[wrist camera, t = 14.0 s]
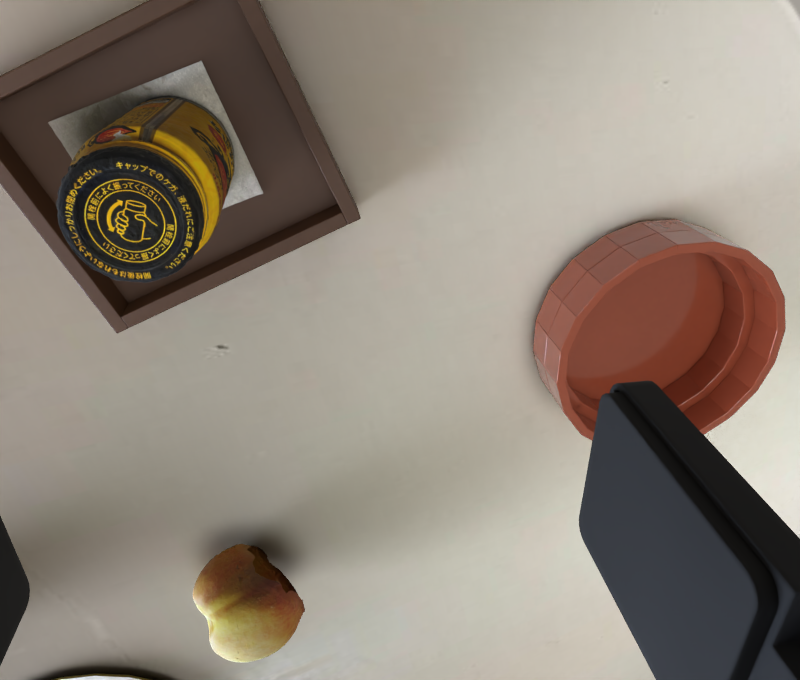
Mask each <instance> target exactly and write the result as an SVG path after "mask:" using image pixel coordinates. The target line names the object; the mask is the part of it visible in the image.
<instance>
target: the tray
mask: <svg viewBox="0 0 800 680" xmlns="http://www.w3.org/2000/svg"><path fill="white" fill-rule="evenodd" d="M200 61H202V63H203V65H204V67H205V69H206V72H207V74H208V76H209V78H210V80H211V82H212V84H213V87H214V89H215V91H216V93H217V95H218V97H219V99H220V101H221V103H222V105H223V107H224V109H225V112H226V114H227V116H228V118H229V120H230V122H231V124H232V126H233V129H234V131H235V133H236V135H237V137H238V139H239V141H240V143H241V146H242V148H243V150H244V152H245V154H246V156H247V159H248V161H249V163H250V165H251V167H252V169H253V171H254V174H255V176H256V178H257V180H258V182H259V185H260V187H261V189H262V191H263V194H260V195H257V196H254V197H251V198H249V199H246V200H244V201H242V202H239V203H236V204H234V205H231V206H229V207H226V208H224V209H222V210H221V213H220V217H219V222H218V224H217V226H216V227H215V229H214V232H213V234H212V236H211V237H210V239H209V240H208V241H207V243H206V244H205V245H204V246H203V247H202V248H201V249H200V250H199V251H198V252H197V253H195V254H194V256H193V258H192V259H191V260H189V261H188V262H187V263H186V265H185V266H184V267H183V268H182V269H180V270H179V271H178V272H176V273H174V274H172V275H169V276H168V277H165V278H161V279H159V280H156V281H152V282H147V283H142V282H130V281H117V280H114V279H112V278H110V277H108V276H106V275H104V274H102V273H100V272H98V271H96V270H93V269H92V268H90V267H89V266H88V265H86V264H85V262H84V261H82V260H81V259H80V258H79V257H78V256H77V255H76V254H75V253H74V251H73V250H72V249H71V247H70V245H69V244H68V242H67V241H66V239H65V237H64V235H63V233H62V231H61V229H60V227H59V223H58V217H57V215H58V210H57V208H56V201H57V199H58V189H59V187H60V186H61V184H62V183H61V180H62V178H63V177H64V176H65V175H66V174H67V173H68V167H69V166H70V164H71V162H72V158H71V157H70V155H69V154H68V152H67V151H66V149H65V147H64V146H63V144H62V142H61V141H60V140H59V138H58V137H57V136H56V134H55V132H54V131H53V129H52V128H51V126H50V125H49V123H48V122H50V121H52V120H55V119H57V118H60V117H62V116H65V115H68V114H70V113H72V112H75V111H77V110H80V109H82V108H84V107H87V106H90V105H92V104H95V103H97V102H100V101H102V100H105V99H108V98H110V97H112V96H115V95H117V94H120V93H122V92H125V91H127V90H130V89H132V88H135V87H137V86H140V85H142V84H145V83H147V82H150V81H152V80H155V79H157V78H160V77H162V76H165V75H167V74H170V73H172V72H175V71H177V70H180V69H182V68H185V67H187V66H190V65H192V64H195V63H197V62H200ZM0 184H1V185H2V187H3V188H4V189H5V191H6V192H7V193H8V194H9V196H10V197H11V198H12V200H13V201H14V202H15V203H16V205H17V206H18V207H19V209H20V210H21V211H22V212H23V214H24V215H25V216H26V218H27V219H28V220H29V221H30V223H31V224H32V225H33V227H34V228H35V229H36V230H37V232H38V233H39V234H40V235H41V237H42V238H43V239H44V241H45V242H46V243H47V244H48V246H49V247H50V248H51V250H52V251H53V252H54V253H55V255H56V256H57V257H58V259H59V260H60V261H61V262H62V264H63V265H64V266H65V268H66V269H67V270H68V271H69V273H70V274H71V275H72V277H73V278H74V279H75V280H76V282H77V283H78V284H79V286H80V287H81V288H82V289H83V291H84V292H85V293H86V295H87V296H88V297H89V298H90V300H91V301H92V302H93V304H94V305H95V306H96V307H97V309H98V310H99V311H100V313H101V314H102V315H103V316H104V318H105V319H106V320H107V322H108V323H109V324H110V325H111V327H112V328H113V329H114V331H115V332H116V333H119V332H121V331H123V330H126V329H128V328H129V327H132V326H134V325H136V324H138V323H140V322H142V321H145V320H147V319H149V318H151V317H153V316H155V315H157V314H159V313H161V312H164V311H166V310H168V309H170V308H172V307H174V306H176V305H178V304H181V303H183V302H185V301H187V300H189V299H191V298H193V297H195V296H198V295H200V294H202V293H204V292H206V291H208V290H210V289H212V288H214V287H217V286H219V285H221V284H223V283H225V282H227V281H229V280H231V279H234V278H236V277H238V276H240V275H242V274H244V273H246V272H248V271H251V270H253V269H255V268H257V267H259V266H261V265H263V264H265V263H267V262H270V261H272V260H274V259H276V258H278V257H280V256H282V255H284V254H287V253H289V252H291V251H293V250H295V249H297V248H299V247H301V246H303V245H306V244H308V243H310V242H312V241H314V240H316V239H318V238H320V237H323V236H325V235H327V234H329V233H331V232H333V231H335V230H337V229H340V228H342V227H344V226H346V225H347V224H350V223H352V222H355V221H357V220H359V219H360V215H359V212H358V208H357V206H356V203H355V201H354V199H353V197H352V195H351V193H350V191H349V189H348V187H347V185H346V183H345V180H344V178H343V176H342V174H341V172H340V170H339V168H338V166H337V164H336V162H335V160H334V157H333V155H332V153H331V151H330V149H329V147H328V145H327V143H326V141H325V139H324V137H323V134H322V132H321V130H320V128H319V126H318V124H317V122H316V120H315V118H314V116H313V114H312V111H311V109H310V107H309V105H308V103H307V101H306V99H305V97H304V95H303V93H302V91H301V89H300V86H299V84H298V82H297V80H296V78H295V76H294V74H293V72H292V70H291V68H290V66H289V63H288V61H287V59H286V57H285V55H284V53H283V51H282V49H281V47H280V45H279V43H278V40H277V38H276V36H275V34H274V32H273V30H272V28H271V26H270V24H269V22H268V20H267V17H266V15H265V13H264V11H263V9H262V7H261V5H260V3H259V1H258V0H149V1H147V2H145V3H143V4H141V5H139V6H137V7H135V8H133V9H131V10H129V11H127V12H125V13H123V14H121V15H119V16H117V17H115V18H113V19H111V20H109V21H107V22H106V23H104V24H102V25H100V26H98V27H96V28H94V29H92V30H90V31H88V32H86V33H84V34H82V35H80V36H78V37H76V38H74V39H72V40H70V41H68V42H66V43H64V44H62V45H60V46H58V47H56V48H54V49H52V50H50V51H48V52H47V53H45V54H43V55H41V56H39V57H37V58H35V59H33V60H31V61H29V62H27V63H25V64H23V65H21V66H19V67H17V68H15V69H13V70H11V71H9V72H7V73H5V74H3V75H1V76H0Z"/></svg>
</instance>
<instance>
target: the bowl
mask: <svg viewBox="0 0 800 680" xmlns="http://www.w3.org/2000/svg"><path fill="white" fill-rule="evenodd" d="M784 298H785V297H784V295H783V293H782V291H781V288H780V286H779V284H778V282H777V280H776V278H775V275H774V273H773V271H772V270H771V269H770V268H769V267H768V266H766V265H765V264H764V263H763V262H762V261H760V260H759V259H758V258H757V257H756V256H754V255H753V254H752V253H751V252H750V251H748V250H746V249H744V248H742V247H740V246H739V245H737V244H735V243H733V242H731V241H729V240H727V239H725V238H723V237H721V236H720V235H718V234H716V233H714V232H712V231H710V230H708V229H706V228H704V227H701V226H697V225H694V224H690V223H687V222H683V221H680V220H675V219H670V220H656V221H642V222H638V223H635V224H632V225H630V226H627V227H625V228H622V229H619V230H617V231H614V232H612V233H609V234H607V235H605V236H603V237H602V238H600V239H599V240H598V241H596V242H595V243H593V244H592V245H591V246H589V247H588V248H587V249H585V250H584V251H583V252H581V253H580V254H578V255H577V256H576V257H574V259H572V260H571V261H570V263H569V264H568V265H567V266H566V268H565V269H564V270H563V271H562V273H561V274H560V275H559V276H558V278H557V279H556V280H555V281H554V283H553V284H552V285H551V286H550V288H549V290H548V292H547V295H546V297H545V300H544V302H543V304H542V307H541V309H540V311H539V314H538V316H537V318H536V324H535V335H534V346H533V353H534V356H535V360H536V364H537V367H538V371H539V374H540V377H541V379H542V381H543V382H544V384H545V385H546V387H547V388H548V390H549V391H550V393H551V394H552V396H553V397H554V399H555V400H556V402H557V403H558V405H559V406H560V408H561V409H562V411H563V412H564V414H565V415H566V416H567V417H568V419H569V420H570V421H571V422H572V424H573V425H574V426H575V427H576V429H577V430H578V431H579V433H580V434H581V435H583V436H585V437H587V438H589V439H590V440H592V441H593V436H594V430H595V425H596V419H597V413H598V408H599V402H600V399H601V397H602V395H603V394H605V393H609V392H610V389H611V388H612V386H613V385H614V384H616V383H626V382H637V381H653V382H654V383H655V384H657V385H658V386H659V387H660V389H661V390H662V391H663V392H664V393H665V394H666V395H667V396H668V397H669V398H670V399H671V400H672V402H673V403H674V404H675V405H676V406H677V407H678V408H679V409H680V410H681V411H682V412H683V413H684V414H685V416H686V417H687V418H688V419H689V420H690V421H691V422H692V423H693V424H694V425H695V426H696V427H697V429H698V430H699V431H700V432H701V433H702V434H703V435H704V434H706V433H707V432H709V431H710V430H712V429H713V428H715V427H716V426H718V425H720V424H721V423H723V422H724V421H726V420H727V419H729V418H730V417H731V416H733V415H734V414H735V413H736V412H737V411H738V410H739V409H740V408H741V407H742V406H743V405H744V404H745V403H746V402H747V401H748V400H749V399H750V398H751V397H752V396H753V395H754V394H755V393H756V391H757V390H758V389H759V387H760V386H761V384H762V382H763V381H764V379H765V378H766V376H767V374H768V373H769V371H770V370H771V368H772V367H773V365H774V363H775V361H776V358H777V355H778V352H779V349H780V345H781V342H782V339H783V336H784V332H785V299H784Z"/></svg>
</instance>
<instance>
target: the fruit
mask: <svg viewBox="0 0 800 680" xmlns="http://www.w3.org/2000/svg"><path fill="white" fill-rule="evenodd" d="M193 600H194V602H195V604H196V606H197V608H198V609H199V610H200V611H201V613H202V614H203V615H204V616H205V617H206V618H207V621H208V626H209V633H210V634H209V640H210V644H211V646H212V649H213V650H214V651H215V653H217V654H218V655H219V656H221V657H223V658H224V659H227V660H229V661H234V662H251V661H255V660H259V659H262V658H265V657H267V656H269V655H271V654H273V653H274V652H276V651H278V650H279V649H280V648H281V647H282V646H284V645H285V644H286V643H287V641H288V640H289V639H290V638H291V636H292V635H293V634H294V632H295V630H296V628H297V625H298V623H299V622H300V619H301V616H302V615H303V614H302V613H303V612H305V609H304V604H303V601H302V600H301V598H300V597H299V596H298V594H297V592H296V590H295V589H294V587H293V586H292V584H291V583H290V582H289V580H288V579H287V578H286V576H284V575H283V573H282V572H281V571H280V570H279V569H278V568H276V567H275V566H273V565H272V564H271V563H269V561H268V559H267V555H266V554H265V552H264V551H263V550H261V549H260V548H258V547H256V546H250V545H245V544H239V545H235V546H233V547H231V548H228V549H226V550H225V551H223V552H221V553H220V554H218V555H216V556H215V557H214V558H213V559H211V560H210V561H209V563H208V564H207V565H206V566H205V567H204V569H203V570H202V571H201V573H200V575H199V577H198V579H197V581H196V583H195V586H194V590H193Z"/></svg>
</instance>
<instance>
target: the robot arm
mask: <svg viewBox="0 0 800 680" xmlns="http://www.w3.org/2000/svg"><path fill="white" fill-rule="evenodd" d="M579 527H580V532H581V535H582V538H583V541H584V543H585V545H586V547H587V549H588V550H589V552H590V554H591V556H592V558H593V560H594V562H595V564H596V566H597V568H598V570H599V571H600V573H601V575H602V577H603V579H604V581H605V583H606V585H607V587H608V589H609V591H610V592H611V594H612V596H613V598H614V600H615V602H616V604H617V606H618V608H619V610H620V612H621V613H622V615H623V617H624V619H625V621H626V623H627V625H628V627H629V629H630V631H631V633H632V634H633V636H634V638H635V640H636V642H637V644H638V646H639V648H640V650H641V652H642V654H643V656H644V657H645V659H646V661H647V663H648V665H649V667H650V669H651V671H652V673H653V675H654V677H655V678H656V680H800V539H799V538H798V536H797V535H796V534H795V533H794V532H793V531H792V530H791V529H790V528H789V527H788V526H787V525H786V523H785V522H784V521H783V520H782V519H781V518H780V517H779V516H778V515H777V514H776V513H775V512H774V511H773V509H772V508H771V507H770V506H769V505H768V504H767V503H766V502H765V501H764V500H763V499H762V498H761V497H760V495H759V494H758V493H757V492H756V491H755V490H754V489H753V488H752V487H751V486H750V485H749V484H748V482H747V481H746V480H745V479H744V478H743V477H742V476H741V475H740V474H739V473H738V472H737V471H736V470H735V468H734V467H733V466H732V465H731V464H730V463H729V462H728V461H727V460H726V459H725V458H724V457H723V455H722V454H721V453H720V452H719V451H718V450H717V449H716V448H715V447H714V446H713V445H712V444H711V443H710V441H709V440H708V439H707V438H706V437H705V436H704V435H703V434H702V433H701V432H700V431H699V430H698V429H697V427H696V426H695V425H694V424H693V423H692V422H691V421H690V420H689V419H688V418H687V417H686V416H685V414H684V413H683V412H682V411H681V410H680V409H679V408H678V407H677V406H676V405H675V404H674V403H673V402H672V400H671V399H670V398H669V397H668V396H667V395H666V394H665V393H664V392H663V391H662V390H661V389H660V387H659V386H658V385H657V384H655V383H654V382H653V381H637V382H626V383H616V384H614V385H613V386H612V388H611V389H610V392H609V393H605V394H603V395H602V397H601V399H600V402H599V408H598V413H597V419H596V425H595V430H594V436H593V442H592V447H591V453H590V459H589V464H588V470H587V476H586V481H585V487H584V493H583V498H582V504H581V510H580V515H579ZM29 593H30V588H29V582H28V579H27V576H26V574H25V572H24V569H23V567H22V565H21V562H20V560H19V558H18V556H17V553H16V551H15V549H14V546H13V544H12V542H11V539H10V537H9V535H8V533H7V530H6V528H5V526H4V523H3V521H2V519H1V516H0V665H1V663H2V661H3V659H4V656H5V654H6V652H7V650H8V647H9V645H10V643H11V641H12V639H13V636H14V634H15V632H16V630H17V627H18V625H19V623H20V621H21V619H22V616H23V614H24V612H25V610H26V607H27V604H28V601H29Z"/></svg>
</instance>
